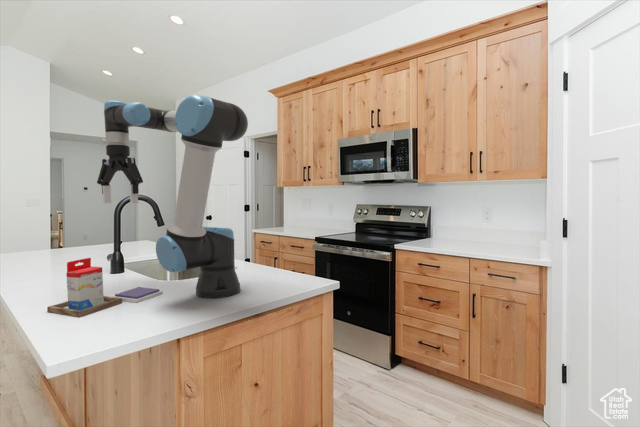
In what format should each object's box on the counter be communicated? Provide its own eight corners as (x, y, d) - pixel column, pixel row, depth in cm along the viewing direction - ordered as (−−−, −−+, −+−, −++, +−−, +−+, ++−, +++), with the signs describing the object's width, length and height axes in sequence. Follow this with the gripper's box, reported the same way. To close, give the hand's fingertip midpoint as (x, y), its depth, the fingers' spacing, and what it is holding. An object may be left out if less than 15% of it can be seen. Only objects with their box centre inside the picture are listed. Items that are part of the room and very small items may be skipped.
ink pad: (162, 293, 127) (162, 288, 126) (136, 302, 116) (136, 297, 116) (139, 291, 130) (138, 286, 130) (111, 299, 120) (111, 294, 120)
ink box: (80, 311, 108) (77, 263, 107) (67, 310, 109) (65, 262, 108) (104, 303, 116) (102, 257, 115) (92, 301, 117) (90, 257, 116)
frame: (122, 302, 117) (122, 298, 116) (79, 317, 103) (79, 312, 103) (91, 298, 122) (91, 294, 121) (47, 311, 109) (47, 307, 108)
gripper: (151, 144, 131) (154, 202, 133) (102, 148, 141) (105, 202, 142) (134, 141, 125) (137, 203, 126) (84, 146, 134) (87, 203, 135)
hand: (120, 203), depth 134 cm, fingers open, 13 cm apart
